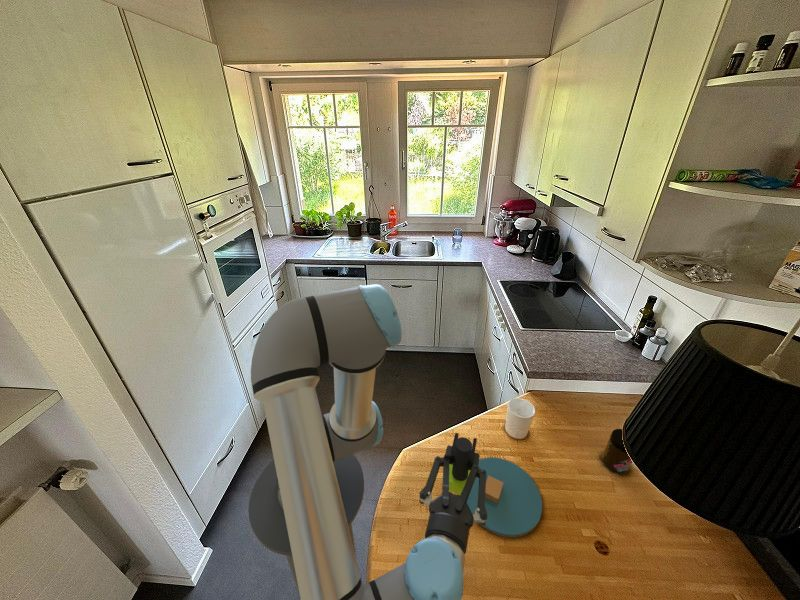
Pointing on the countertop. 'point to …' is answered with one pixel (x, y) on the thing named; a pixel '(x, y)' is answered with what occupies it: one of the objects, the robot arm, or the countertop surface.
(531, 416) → the white cup
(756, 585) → the countertop surface
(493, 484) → the brown rectangular block
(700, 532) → the countertop surface
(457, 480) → the sponge wand
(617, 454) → the supplement container
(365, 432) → the robot arm
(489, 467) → the plate
